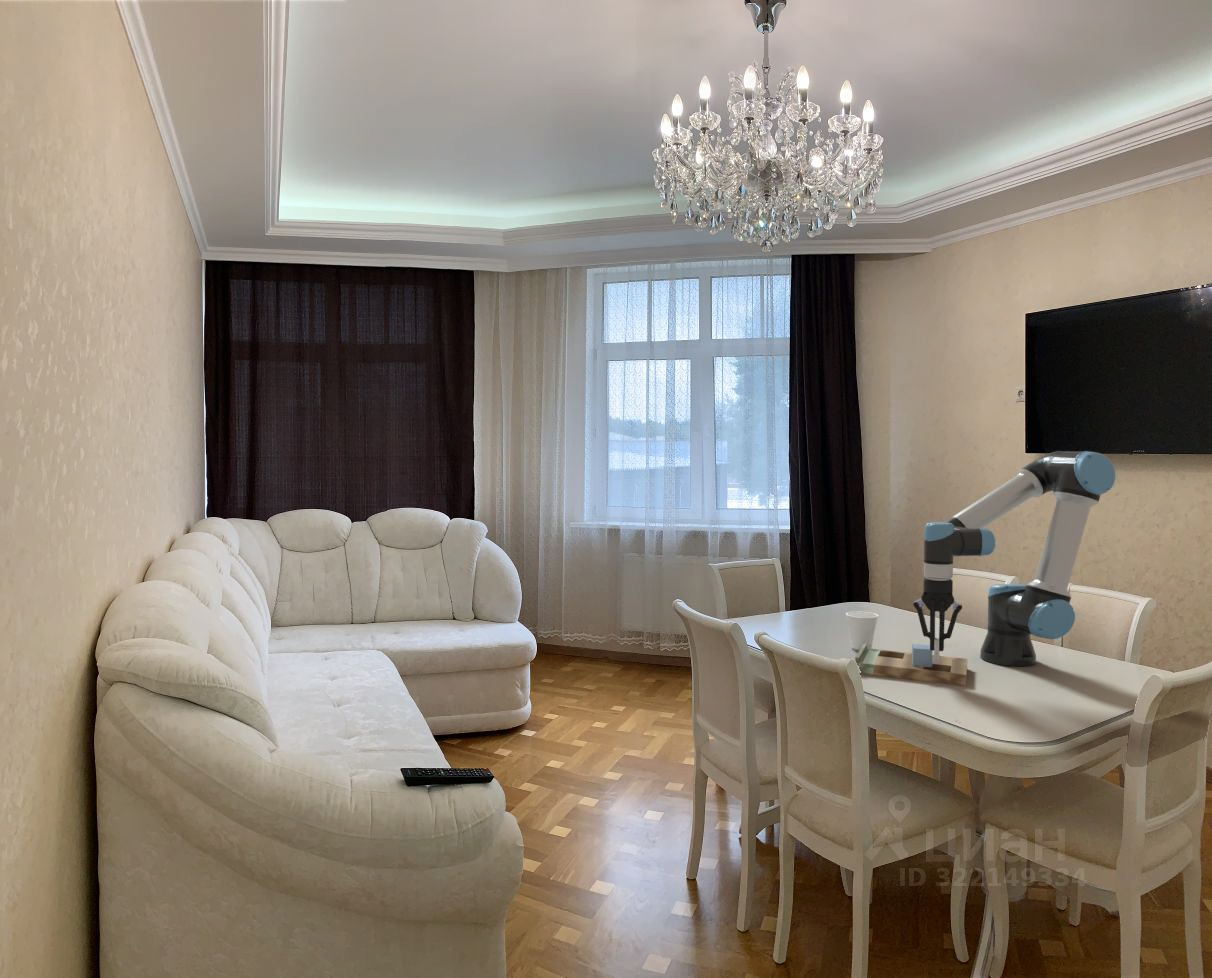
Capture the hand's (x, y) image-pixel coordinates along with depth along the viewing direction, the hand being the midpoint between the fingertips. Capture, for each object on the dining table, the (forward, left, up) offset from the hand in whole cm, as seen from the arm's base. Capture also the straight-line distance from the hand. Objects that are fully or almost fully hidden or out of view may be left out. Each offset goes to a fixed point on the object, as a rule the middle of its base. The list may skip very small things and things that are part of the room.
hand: (936, 662), depth 230 cm
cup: (+23, -25, -5) cm, 34 cm away
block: (+4, -2, -2) cm, 5 cm away
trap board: (+6, -5, -5) cm, 9 cm away
